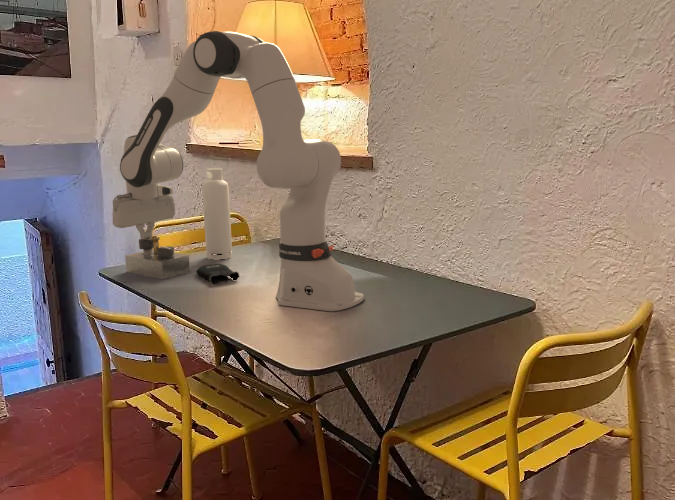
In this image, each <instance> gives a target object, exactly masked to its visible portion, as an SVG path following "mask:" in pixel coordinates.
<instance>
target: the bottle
mask: <svg viewBox="0 0 675 500" xmlns="http://www.w3.org/2000/svg"><path fill="white" fill-rule="evenodd" d="M201 188H202V189H201V191H202V206H203V223H204V237H205V238H204V239H205V240H204V241H205V251H206V253H205V257H206V259H207V258H208V259H207V260H209V259H216V260H215V261H221V260H220V259H225V260H229V259H228V258H230V259H232V258H233V244H232V241H233V240H232V229H231V228H232V227H231V223H232V222H231V208H230V206H231V205H230V187H229V183H228V182H227V181H225V180H224V178H223V167H222V168H221V167H211V168H210V167H209V168H206V181H204V182H203V183H202V186H201ZM213 254H222V255H213ZM231 257H232V258H231Z"/></svg>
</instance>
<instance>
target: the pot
mask: <svg viewBox="0 0 675 500" xmlns="http://www.w3.org/2000/svg"><path fill="white" fill-rule="evenodd" d="M151 238H152V240H153V247H154V248H153V249H154V255H158V251H157V248H159V247H160V235H152V237H151Z"/></svg>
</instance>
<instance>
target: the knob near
mask: <svg viewBox="0 0 675 500" xmlns="http://www.w3.org/2000/svg"><path fill="white" fill-rule="evenodd" d="M174 248H175V247H174V246H164V245H163V246H162V245H161V246H160V245H159V248H157V251H158V258H162V259H167V258H172V257H174V253H175V249H174Z"/></svg>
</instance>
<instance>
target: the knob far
mask: <svg viewBox="0 0 675 500" xmlns="http://www.w3.org/2000/svg"><path fill="white" fill-rule="evenodd" d="M138 249H140V250H142V251H144V255H151V254H152V249H154V247H153V240H152V237H151V238H147V239H141V238H139V239H138Z"/></svg>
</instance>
